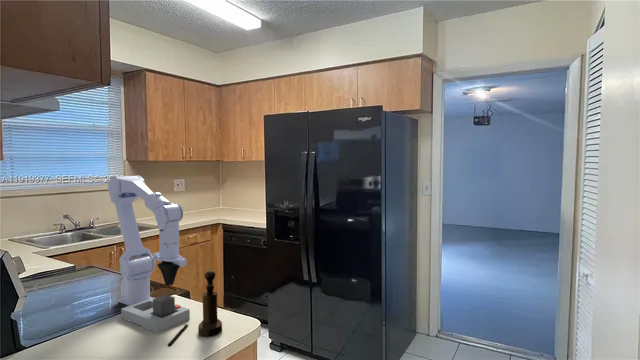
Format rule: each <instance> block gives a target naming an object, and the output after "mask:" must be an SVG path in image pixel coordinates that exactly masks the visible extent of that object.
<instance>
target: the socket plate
mask: <svg viewBox="0 0 640 360" xmlns="http://www.w3.org/2000/svg"><path fill="white" fill-rule="evenodd" d="M155 298H156V297H152V298H151V299H148V300H145V301H142V302H139V303H136V304H133V305H130V306H129V305H126V306H125V307H122V308H121V309H120V314H121V317H120V319H122V318H124V319H126V320H125V321H127V320H129V321H131V322H130V323H132V322H134V323H136V324H135V325H137V324H138V325H137V326H139V325H141V326H140V327H142V326H143V327H142V328H144V327H145V329H146V328H148V329H147V330H149V329H150V330H149V331H151V330H152V332H154V331H155V332H154V333H156V332H157V333H161V332H163V331H165V330H167V329H170V328H172V327H174V326H177V325H178V323H179V324H181V323H184V322H185V320H186V321H188V320H190V318H191V317H190V316H191V315H190V313H191V311H190V308H188V307H185V306H181V305H180V304H176V303H175V313H173V314H171V315H168V316H166V317H163V318H160V317H158V316H155V315H153V299H155ZM124 319H123V320H124ZM129 321H128V322H129ZM180 322H181V323H180ZM134 323H133V324H134ZM176 324H177V325H176ZM171 326H172V327H171ZM169 327H170V328H169Z"/></svg>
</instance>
